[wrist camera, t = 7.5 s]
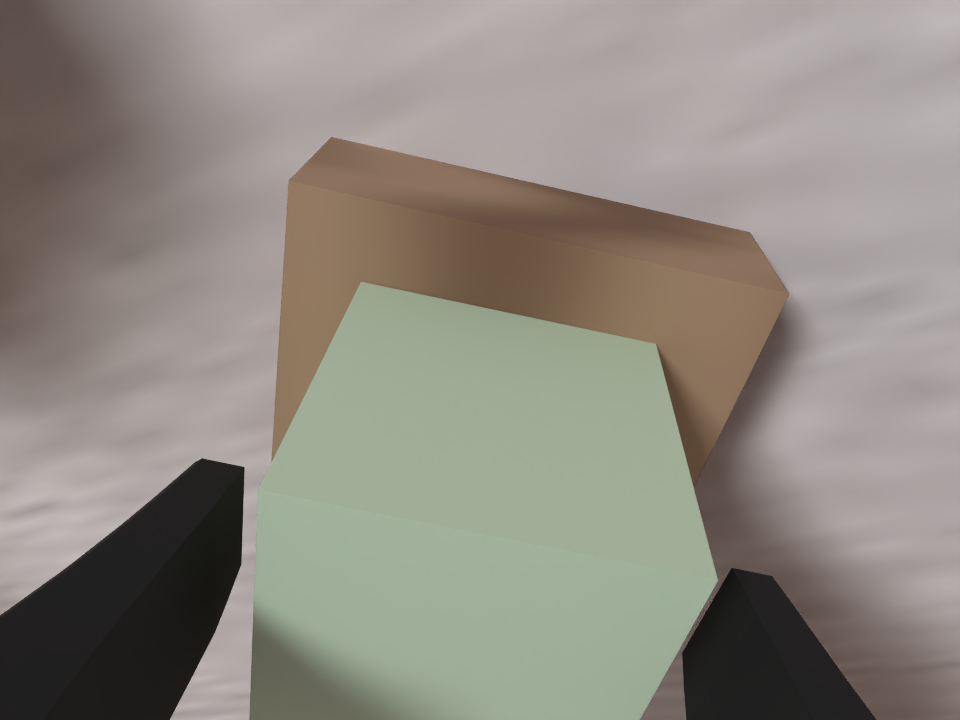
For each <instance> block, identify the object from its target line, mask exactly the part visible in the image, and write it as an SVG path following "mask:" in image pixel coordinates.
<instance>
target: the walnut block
mask: <svg viewBox="0 0 960 720" xmlns="http://www.w3.org/2000/svg"><path fill="white" fill-rule="evenodd" d="M361 282H365V283H370V284H374V285H379V286H384V287H389V288H393V289H398V290H403V291H408V292H412V293H417V294H422V295H427V296H431V297H436V298H441V299H446V300H450V301H455V302H460V303H465V304H469V305H474V306H479V307H484V308H488V309H493V310H498V311H503V312H507V313H512V314H517V315H522V316H526V317H531V318H536V319H541V320H545V321H550V322H555V323H559V324H564V325H569V326H574V327H578V328H583V329H588V330H593V331H597V332H602V333H607V334H612V335H616V336H621V337H626V338H631V339H635V340H640V341H645V342H650V343H654V344H656V346H657V349H658V353H659V357H660V361H661V365H662V369H663V372H664V376H665V380H666V384H667V388H668V392H669V395H670V399H671V403H672V407H673V411H674V414H675V418H676V422H677V426H678V430H679V434H680V437H681V441H682V445H683V449H684V453H685V457H686V460H687V464H688V468H689V472H690V476H691V479H692V483H693V487H694V486H695V484H696V482H697V480H698V478H699V476H700V474H701V472H702V470H703V468H704V466H705V464H706V461H707V459H708V457H709V455H710V453H711V451H712V449H713V447H714V445H715V443H716V441H717V439H718V437H719V435H720V433H721V431H722V429H723V427H724V425H725V423H726V421H727V419H728V417H729V415H730V413H731V411H732V409H733V407H734V405H735V403H736V401H737V399H738V397H739V395H740V393H741V391H742V389H743V387H744V385H745V383H746V381H747V379H748V377H749V375H750V373H751V371H752V369H753V367H754V365H755V363H756V361H757V358H758V356H759V354H760V352H761V350H762V348H763V346H764V344H765V342H766V340H767V338H768V336H769V334H770V332H771V330H772V328H773V326H774V324H775V322H776V320H777V318H778V316H779V314H780V312H781V310H782V308H783V306H784V304H785V302H786V300H787V298H788V296H789V292H788V291H787V289H786V288H785V286H784V284H783V283H782V281H781V280H780V278H779V277H778V275H777V274H776V272H775V270H774V269H773V267H772V266H771V264H770V263H769V261H768V260H767V258H766V256H765V255H764V253H763V252H762V250H761V249H760V247H759V246H758V244H757V242H756V241H755V239H754V238H753V236H752V235H751V233H750V232H746V231H741V230H737V229H733V228H728V227H724V226H720V225H715V224H711V223H706V222H702V221H698V220H693V219H689V218H684V217H680V216H676V215H671V214H667V213H662V212H658V211H654V210H649V209H645V208H640V207H636V206H632V205H627V204H623V203H619V202H614V201H610V200H605V199H601V198H597V197H592V196H588V195H583V194H579V193H575V192H570V191H566V190H561V189H557V188H553V187H548V186H544V185H539V184H535V183H531V182H526V181H522V180H518V179H513V178H509V177H504V176H500V175H496V174H491V173H487V172H482V171H478V170H474V169H469V168H465V167H460V166H456V165H452V164H447V163H443V162H438V161H434V160H430V159H425V158H421V157H417V156H412V155H408V154H403V153H399V152H395V151H390V150H386V149H381V148H377V147H373V146H368V145H364V144H359V143H355V142H351V141H346V140H342V139H337V138H333V137H331V138H330V139H329V140H328V141H327V142H326V143H325V144H324V145H323V146H322V147H321V148H320V149H319V150H318V151H317V152H316V153H315V154H314V156H313V157H312V158H311V159H310V160H309V161H308V162H307V163H306V164H305V165H304V166H303V167H302V168H301V169H300V170H299V171H298V172H297V173H296V174H295V175H294V176H293V177H292V178H291V179H290V180H289V185H288V202H287V218H286V234H285V250H284V267H283V283H282V299H281V315H280V332H279V348H278V364H277V380H276V397H275V413H274V429H273V445H272V461H273V459H274V457H275V454H276V452H277V450H278V448H279V446H280V444H281V442H282V440H283V438H284V436H285V434H286V432H287V430H288V428H289V426H290V424H291V422H292V420H293V418H294V416H295V414H296V412H297V410H298V408H299V406H300V404H301V402H302V400H303V398H304V396H305V394H306V392H307V390H308V388H309V386H310V384H311V382H312V380H313V378H314V376H315V374H316V372H317V370H318V368H319V366H320V364H321V362H322V360H323V358H324V356H325V354H326V352H327V349H328V347H329V345H330V343H331V341H332V339H333V337H334V335H335V333H336V331H337V329H338V327H339V325H340V323H341V321H342V319H343V317H344V315H345V313H346V311H347V309H348V307H349V305H350V303H351V301H352V299H353V297H354V295H355V293H356V291H357V289H358V287H359V285H360V283H361ZM271 463H272V462H271Z"/></svg>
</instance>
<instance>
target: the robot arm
mask: <svg viewBox="0 0 960 720" xmlns="http://www.w3.org/2000/svg"><path fill="white" fill-rule="evenodd" d="M243 495H244V467H241V466H236V465H231V464H226V463H222V462H217V461H212V460H207V459H200V460H199V461H197V462H195V463H194V464H192V465H191V466H190V467H189V468H188V469H187V470H186V471H184V472H183V473H182V474H181V475H180V476H179V477H177V478H176V479H175V480H174V481H173V482H172V483H171V484H169V485H168V486H167V487H166V488H165V489H164V490H162V491H161V492H160V493H159V494H158V495H157V496H155V497H154V498H153V499H152V500H151V501H149V502H148V503H147V504H146V505H145V506H143V507H142V508H141V509H140V510H139V511H137V512H136V513H135V514H134V515H133V516H131V517H130V518H129V519H128V520H127V521H125V522H124V523H123V524H122V525H120V526H119V527H118V528H117V529H115V530H114V531H113V532H112V533H110V534H109V535H108V536H107V537H105V538H104V539H103V540H101V541H100V542H99V543H98V544H96V545H95V546H94V547H93V548H91V549H90V550H89V551H87V552H86V553H85V554H84V555H82V556H81V557H80V558H79V559H77V560H76V561H75V562H73V563H72V564H71V565H69V566H68V567H67V568H65V569H64V570H63V571H61V572H60V573H59V574H57V575H56V576H55V577H53V578H52V579H50V580H49V581H48V582H46V583H45V584H43V585H42V586H41V587H39V588H38V589H36V590H35V591H34V592H32V593H31V594H30V595H28V596H27V597H25V598H24V599H23V600H21V601H20V602H18V603H17V604H16V605H14V606H13V607H11V608H10V609H9V610H7V611H6V612H4V613H3V614H2V615H0V720H170V718H171V716H172V714H173V712H174V710H175V708H176V707H177V705H178V703H179V701H180V699H181V697H182V695H183V693H184V691H185V689H186V687H187V685H188V684H189V682H190V680H191V678H192V676H193V674H194V672H195V670H196V668H197V666H198V664H199V662H200V660H201V658H202V656H203V654H204V652H205V651H206V649H207V647H208V645H209V643H210V641H211V639H212V637H213V635H214V633H215V631H216V628H217V626H218V623H219V621H220V618H221V616H222V613H223V611H224V608H225V606H226V603H227V601H228V598H229V595H230V593H231V590H232V587H233V585H234V582H235V579H236V577H237V574H238V571H239V569H240V566H241V556H242V525H243ZM682 656H683V676H684V694H685V707H686V719H687V720H876V719H875V717H874V716H873V715H872V713H871V712H870V711H869V709H868V708H867V707H866V705H865V704H864V703H863V701H862V700H861V699H860V697H859V696H858V694H857V693H856V692H855V690H854V689H853V688H852V686H851V685H850V684H849V682H848V681H847V679H846V678H845V677H844V675H843V674H842V673H841V671H840V670H839V668H838V667H837V666H836V664H835V663H834V661H833V660H832V659H831V657H830V656H829V654H828V653H827V652H826V650H825V649H824V648H823V646H822V645H821V643H820V642H819V641H818V639H817V638H816V636H815V635H814V634H813V632H812V631H811V629H810V628H809V627H808V625H807V624H806V622H805V621H804V619H803V618H802V617H801V615H800V614H799V612H798V611H797V610H796V608H795V607H794V606H793V604H792V603H791V601H790V600H789V599H788V597H787V596H786V595H785V593H784V592H783V590H782V589H781V588H780V586H779V585H778V584H777V582H776V581H775V580H774V578H773V577H772V576H768V575H763V574H758V573H754V572H749V571H744V570H739V569H734V568H731V570H730V572H729V574H728V575H727V577H726V579H725V580H724V582H723V584H722V586H721V587H720V589H719V591H718V592H717V594H716V596H715V598H714V599H713V601H712V603H711V604H710V606H709V608H708V610H707V611H706V613H705V615H704V617H703V618H702V620H701V622H700V623H699V625H698V627H697V629H696V630H695V632H694V634H693V635H692V637H691V639H690V641H689V642H688V644H687V646H686V647H685V649H684V651H683V653H682Z"/></svg>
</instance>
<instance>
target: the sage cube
mask: <svg viewBox="0 0 960 720" xmlns="http://www.w3.org/2000/svg"><path fill="white" fill-rule="evenodd" d="M717 582H718V579H717V575H716V571H715V567H714V564H713V560H712V556H711V552H710V548H709V544H708V541H707V537H706V533H705V529H704V525H703V521H702V518H701V514H700V510H699V506H698V502H697V499H696V495H695V491H694V487H693V483H692V479H691V476H690V472H689V468H688V464H687V460H686V457H685V453H684V449H683V445H682V441H681V437H680V434H679V430H678V426H677V422H676V418H675V414H674V411H673V407H672V403H671V399H670V395H669V392H668V388H667V384H666V380H665V376H664V372H663V369H662V365H661V361H660V357H659V353H658V349H657V346H656V344H654V343H650V342H645V341H640V340H635V339H631V338H626V337H621V336H616V335H612V334H607V333H602V332H597V331H593V330H588V329H583V328H578V327H574V326H569V325H564V324H559V323H555V322H550V321H545V320H541V319H536V318H531V317H526V316H522V315H517V314H512V313H507V312H503V311H498V310H493V309H488V308H484V307H479V306H474V305H469V304H465V303H460V302H455V301H450V300H446V299H441V298H436V297H431V296H427V295H422V294H417V293H412V292H408V291H403V290H398V289H393V288H389V287H384V286H379V285H374V284H370V283H365V282H361V283H360V285H359V287H358V289H357V291H356V293H355V295H354V297H353V299H352V301H351V303H350V305H349V307H348V309H347V311H346V313H345V315H344V317H343V319H342V321H341V323H340V325H339V327H338V329H337V331H336V333H335V335H334V337H333V339H332V341H331V343H330V345H329V347H328V349H327V352H326V354H325V356H324V358H323V360H322V362H321V364H320V366H319V368H318V370H317V372H316V374H315V376H314V378H313V380H312V382H311V384H310V386H309V388H308V390H307V392H306V394H305V396H304V398H303V400H302V402H301V404H300V406H299V408H298V410H297V412H296V414H295V416H294V418H293V420H292V422H291V424H290V426H289V428H288V430H287V432H286V434H285V436H284V438H283V440H282V442H281V444H280V446H279V448H278V450H277V452H276V454H275V457H274V459H273V461H272V463H271V465H270V467H269V469H268V471H267V473H266V475H265V477H264V479H263V481H262V483H261V485H260V487H259V489H258V503H257V530H256V557H255V584H254V611H253V638H252V665H251V692H250V719H249V720H640V718H641V717H642V715H643V713H644V711H645V709H646V708H647V706H648V704H649V702H650V701H651V699H652V697H653V695H654V693H655V692H656V690H657V688H658V686H659V685H660V683H661V681H662V679H663V677H664V676H665V674H666V672H667V670H668V669H669V667H670V665H671V663H672V662H673V660H674V658H675V656H676V654H677V653H678V651H679V649H680V647H681V646H682V644H683V642H684V640H685V638H686V637H687V635H688V633H689V631H690V630H691V628H692V626H693V624H694V622H695V621H696V619H697V617H698V615H699V614H700V612H701V610H702V608H703V607H704V605H705V603H706V601H707V599H708V598H709V596H710V594H711V592H712V591H713V589H714V587H715V585H716V583H717Z"/></svg>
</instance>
